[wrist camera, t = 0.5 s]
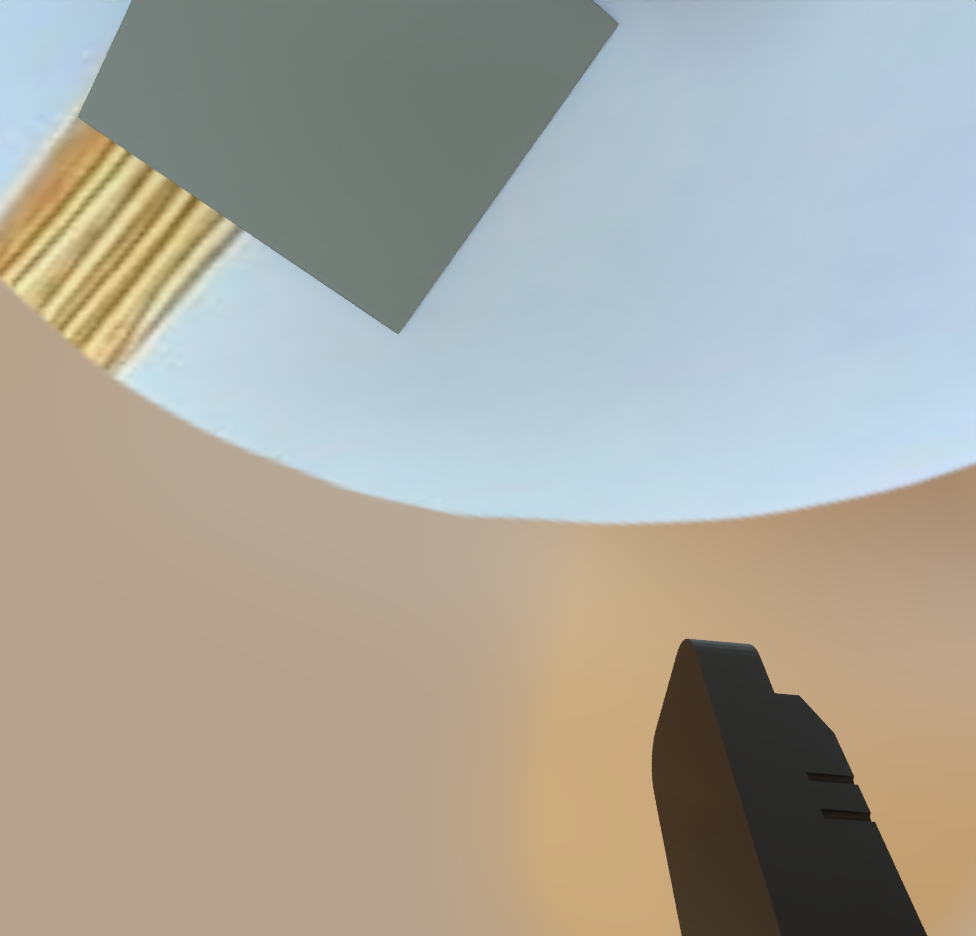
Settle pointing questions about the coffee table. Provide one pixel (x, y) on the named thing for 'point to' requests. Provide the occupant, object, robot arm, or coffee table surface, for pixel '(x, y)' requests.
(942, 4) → the coffee table surface
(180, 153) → the mat
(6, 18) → the coffee table surface
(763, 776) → the robot arm
